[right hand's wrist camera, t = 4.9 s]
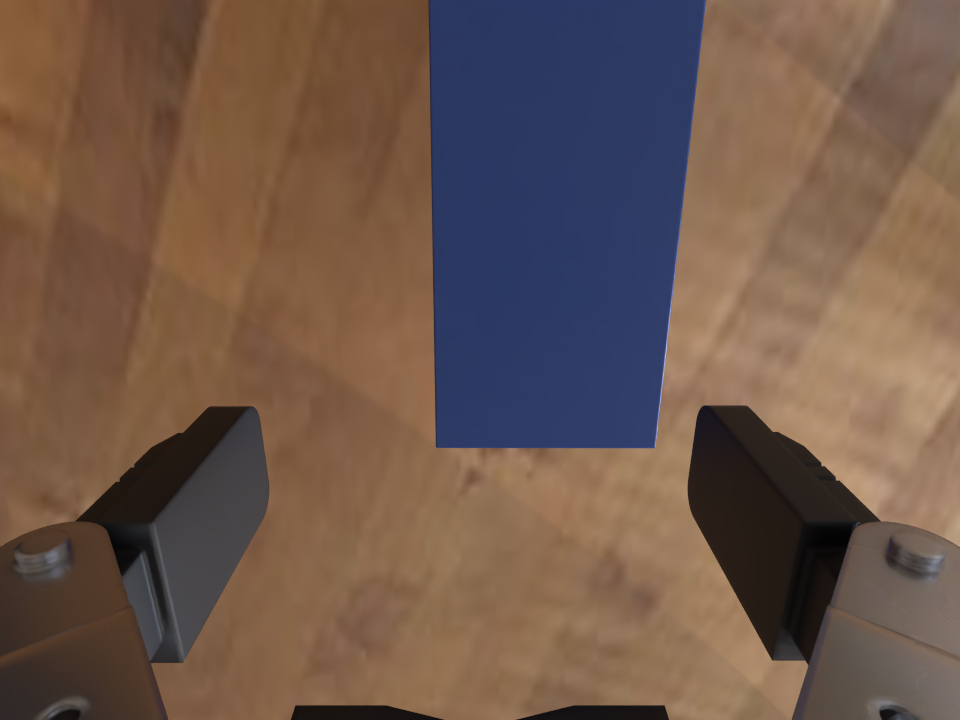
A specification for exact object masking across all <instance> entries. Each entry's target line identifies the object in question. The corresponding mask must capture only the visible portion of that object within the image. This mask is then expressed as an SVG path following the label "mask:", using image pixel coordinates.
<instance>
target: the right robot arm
mask: <svg viewBox="0 0 960 720" xmlns="http://www.w3.org/2000/svg"><path fill="white" fill-rule="evenodd" d="M268 499H269V480H268V473H267V466H266V459H265V452H264V445H263V438H262V431H261V424H260V418H259V415H258V412H257V410H256V409H255V408H254V407H252V406H211V407H208V408H207V409H206V410H205V411H204V412H203V413H202V414H201V415H200V416H199V417H198V418H197V419H196V420H195V421H194V422H193V423H192V424H191V425H190V426H189V427H188V429H187V430H186V431H185V432H184V433H177V434H176V435H174V436H172V437H170V438H168V439H166V440H164V441H163V442H161V443H159V444H157V445H155V446H153V447H152V448H151V449H150V450H148V451H147V452H146V453H145V454H144V455H143V456H142V457H141V458H140V459H139V460H138V461H137V462H136V463H135V464H134V468H130V469H129V470H128V471H127V472H126V473H125V474H124V475H123V476H122V477H121V478H120V482H115V483H114V484H113V485H112V486H111V487H110V488H109V489H108V490H107V491H106V492H105V493H104V494H103V495H102V496H101V497H100V498H99V499H98V500H97V501H96V502H95V503H94V504H93V505H92V506H91V507H90V508H89V509H88V510H87V511H86V512H84V513H83V514H82V515H81V516H80V517H79V518H78V519H77V520H76V521H75V522H66V523H60V524H55V525H50V526H47V527H43V528H40V529H37V530H34V531H31V532H29V533H26V534H24V535H21V536H19V537H17V538H15V539H13V540H11V541H9V542H8V543H6V544H4V545H3V546H1V547H0V720H168V717H167V714H166V711H165V708H164V704H163V701H162V698H161V695H160V692H159V688H158V685H157V682H156V679H155V676H154V672H153V669H152V666H151V663H183V661H184V660H185V658H186V656H187V654H188V653H189V651H190V649H191V647H192V645H193V644H194V642H195V640H196V638H197V636H198V635H199V633H200V631H201V629H202V627H203V626H204V624H205V622H206V620H207V618H208V617H209V615H210V613H211V611H212V609H213V608H214V606H215V604H216V602H217V600H218V599H219V597H220V595H221V593H222V591H223V590H224V588H225V586H226V584H227V583H228V581H229V579H230V577H231V575H232V574H233V572H234V570H235V568H236V566H237V565H238V563H239V561H240V559H241V557H242V556H243V554H244V552H245V550H246V548H247V547H248V545H249V543H250V541H251V539H252V538H253V536H254V534H255V532H256V530H257V529H258V527H259V525H260V523H261V521H262V520H263V518H264V516H265V513H266V510H267V505H268ZM688 499H689V505H690V509H691V512H692V515H693V517H694V519H695V521H696V523H697V524H698V526H699V528H700V530H701V532H702V534H703V535H704V537H705V539H706V541H707V543H708V544H709V546H710V548H711V550H712V552H713V554H714V555H715V557H716V559H717V561H718V563H719V564H720V566H721V568H722V570H723V572H724V574H725V575H726V577H727V579H728V581H729V583H730V584H731V586H732V588H733V590H734V592H735V594H736V595H737V597H738V599H739V601H740V603H741V604H742V606H743V608H744V610H745V612H746V614H747V615H748V617H749V619H750V621H751V623H752V624H753V626H754V628H755V630H756V632H757V633H758V635H759V637H760V639H761V641H762V643H763V644H764V646H765V648H766V650H767V652H768V653H769V655H770V657H771V659H772V660H805V661H806V662H807V664H808V665H809V666H808V669H807V672H806V676H805V679H804V682H803V685H802V688H801V692H800V695H799V698H798V701H797V704H796V708H795V711H794V714H793V717H792V720H960V547H959V546H957V545H956V544H954V543H952V542H951V541H949V540H947V539H945V538H943V537H941V536H939V535H936V534H934V533H931V532H929V531H926V530H923V529H920V528H917V527H913V526H910V525H905V524H900V523H894V522H881V521H880V520H879V519H878V518H877V517H876V516H875V515H874V514H873V513H872V512H871V511H870V510H869V509H868V508H867V507H866V506H865V505H864V504H863V503H862V502H861V501H860V500H859V499H858V498H857V497H856V496H855V495H854V494H853V493H851V492H850V491H849V490H848V489H847V488H846V487H845V486H844V485H843V484H842V483H841V482H840V481H836V477H835V476H834V475H833V474H832V473H831V472H830V471H829V470H828V469H827V468H826V467H825V466H821V462H820V461H819V460H818V459H817V458H816V457H815V456H814V455H813V454H812V453H811V452H810V451H809V450H808V449H807V448H805V447H804V446H803V445H801V444H799V443H797V442H795V441H794V440H792V439H790V438H788V437H786V436H784V435H782V434H781V433H779V432H772V431H771V430H770V429H769V428H768V426H767V425H766V424H765V423H764V422H763V421H762V420H761V419H760V418H759V417H758V416H757V415H756V414H755V413H754V412H753V411H752V410H751V409H750V408H749V407H748V406H702V407H701V409H700V410H699V413H698V416H697V421H696V428H695V435H694V442H693V449H692V456H691V464H690V471H689V478H688ZM291 720H443V719H439V718H435V717H431V716H427V715H423V714H418V713H414V712H410V711H406V710H402V709H398V708H394V707H390V706H295V709H294V712H293V715H292V718H291ZM517 720H669V718H668V715H667V712H666V709H665V706H570V707H566V708H562V709H558V710H554V711H550V712H546V713H542V714H537V715H533V716H529V717H525V718H521V719H517Z"/></svg>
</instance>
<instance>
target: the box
mask: <svg viewBox="0 0 960 720" xmlns="http://www.w3.org/2000/svg"><path fill="white" fill-rule="evenodd" d="M705 4H706V0H429V52H430V113H431V174H432V235H433V296H434V357H435V418H436V447H437V448H655V446H656V437H657V428H658V420H659V411H660V402H661V393H662V384H663V375H664V367H665V358H666V349H667V340H668V331H669V322H670V313H671V305H672V296H673V287H674V278H675V269H676V260H677V252H678V243H679V234H680V225H681V216H682V207H683V199H684V190H685V181H686V172H687V163H688V154H689V145H690V137H691V128H692V119H693V110H694V101H695V92H696V84H697V75H698V66H699V57H700V48H701V39H702V31H703V22H704V13H705Z"/></svg>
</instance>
